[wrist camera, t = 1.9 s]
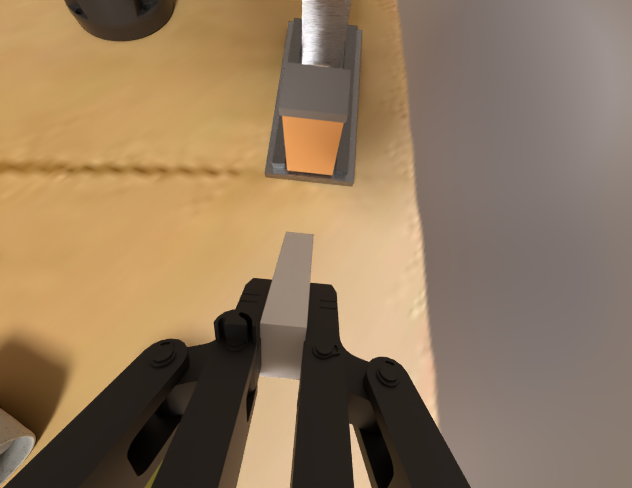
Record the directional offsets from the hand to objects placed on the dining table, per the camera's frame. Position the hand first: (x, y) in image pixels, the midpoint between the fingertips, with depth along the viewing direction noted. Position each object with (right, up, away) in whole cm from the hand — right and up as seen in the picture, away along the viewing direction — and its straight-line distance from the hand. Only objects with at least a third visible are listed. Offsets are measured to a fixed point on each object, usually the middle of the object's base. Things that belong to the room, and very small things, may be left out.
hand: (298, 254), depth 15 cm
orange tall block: (0, +12, +21) cm, 24 cm away
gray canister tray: (+1, +23, +25) cm, 34 cm away
